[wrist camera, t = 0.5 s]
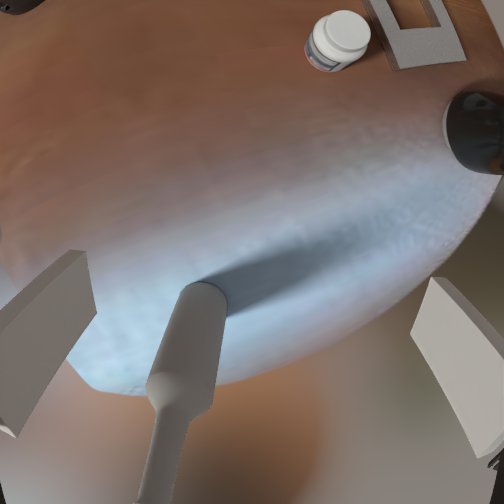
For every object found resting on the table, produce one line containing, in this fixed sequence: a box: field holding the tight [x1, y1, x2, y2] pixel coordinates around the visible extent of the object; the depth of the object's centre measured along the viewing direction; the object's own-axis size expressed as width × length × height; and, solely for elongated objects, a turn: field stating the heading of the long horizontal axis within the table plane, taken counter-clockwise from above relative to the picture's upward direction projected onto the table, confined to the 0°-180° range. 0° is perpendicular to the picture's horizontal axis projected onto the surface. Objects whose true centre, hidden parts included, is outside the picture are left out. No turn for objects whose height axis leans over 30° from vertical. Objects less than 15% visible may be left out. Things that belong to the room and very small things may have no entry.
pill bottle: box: [305, 10, 371, 72], centre depth 23 cm, size 5×5×9 cm
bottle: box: [133, 282, 228, 504], centre depth 27 cm, size 7×7×28 cm
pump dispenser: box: [442, 89, 504, 175], centre depth 23 cm, size 10×10×15 cm
